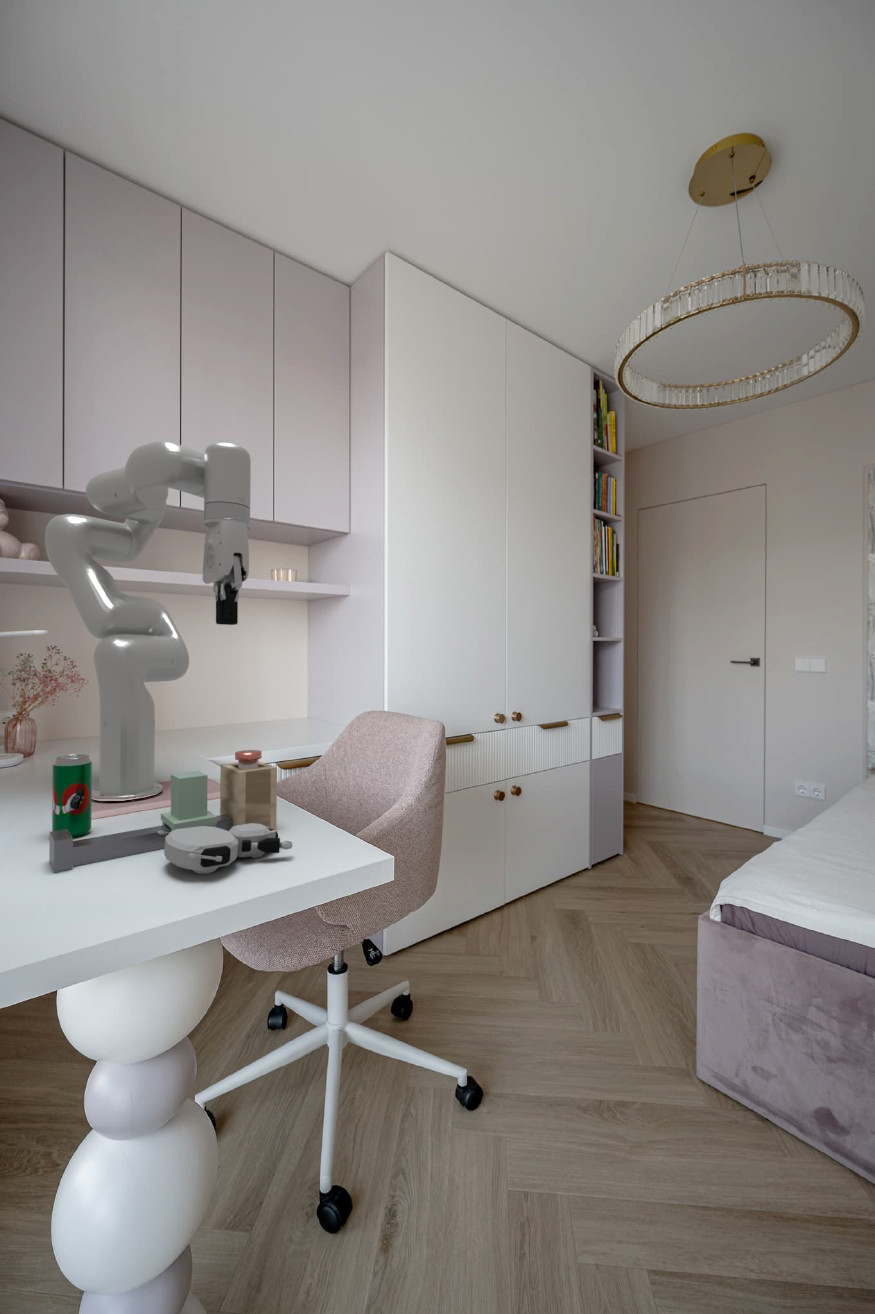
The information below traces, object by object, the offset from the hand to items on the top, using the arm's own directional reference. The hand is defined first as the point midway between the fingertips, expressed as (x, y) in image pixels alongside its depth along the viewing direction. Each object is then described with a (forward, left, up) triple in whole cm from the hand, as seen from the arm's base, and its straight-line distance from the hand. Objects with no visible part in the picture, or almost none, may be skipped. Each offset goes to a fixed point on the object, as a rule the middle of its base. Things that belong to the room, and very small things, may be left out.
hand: (226, 624), depth 97 cm
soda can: (-4, -22, -33) cm, 40 cm away
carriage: (+10, -9, -33) cm, 35 cm away
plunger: (+10, 0, -27) cm, 29 cm away
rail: (+10, -13, -33) cm, 37 cm away
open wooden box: (+10, 0, -33) cm, 35 cm away
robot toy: (+22, -8, -34) cm, 41 cm away
